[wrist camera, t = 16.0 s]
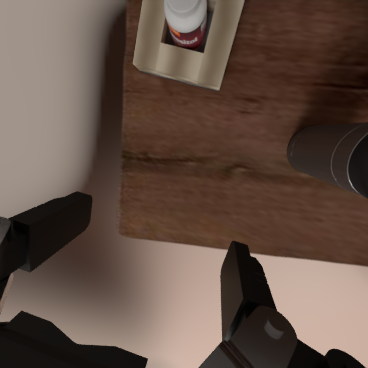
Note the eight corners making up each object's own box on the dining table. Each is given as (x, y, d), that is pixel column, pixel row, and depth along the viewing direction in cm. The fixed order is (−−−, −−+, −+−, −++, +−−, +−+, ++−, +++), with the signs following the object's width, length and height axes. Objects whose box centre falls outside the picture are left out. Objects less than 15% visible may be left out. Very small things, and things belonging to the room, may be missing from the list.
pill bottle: (168, 48, 35) (153, 12, 25) (177, 10, 33) (164, -48, 23) (201, 57, 35) (198, 24, 24) (211, 18, 33) (213, -36, 23)
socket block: (246, -7, 33) (252, -29, 28) (218, 91, 37) (220, 86, 33) (158, -28, 33) (150, -52, 29) (141, 71, 38) (132, 63, 33)
